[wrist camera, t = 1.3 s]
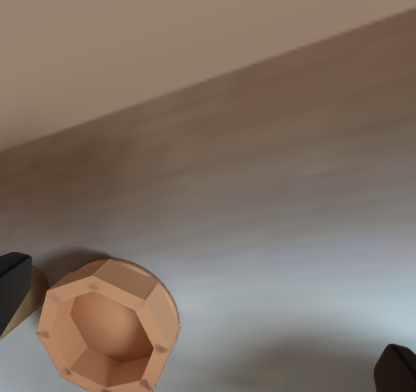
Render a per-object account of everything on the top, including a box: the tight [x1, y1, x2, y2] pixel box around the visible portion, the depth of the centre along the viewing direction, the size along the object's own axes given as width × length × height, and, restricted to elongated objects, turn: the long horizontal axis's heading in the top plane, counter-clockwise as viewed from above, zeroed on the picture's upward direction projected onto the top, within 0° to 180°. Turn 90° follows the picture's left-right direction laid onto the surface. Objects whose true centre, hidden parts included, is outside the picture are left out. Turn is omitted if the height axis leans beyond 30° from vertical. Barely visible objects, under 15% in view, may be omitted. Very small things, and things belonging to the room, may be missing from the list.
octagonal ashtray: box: [36, 259, 181, 392], centre depth 24 cm, size 9×9×3 cm
